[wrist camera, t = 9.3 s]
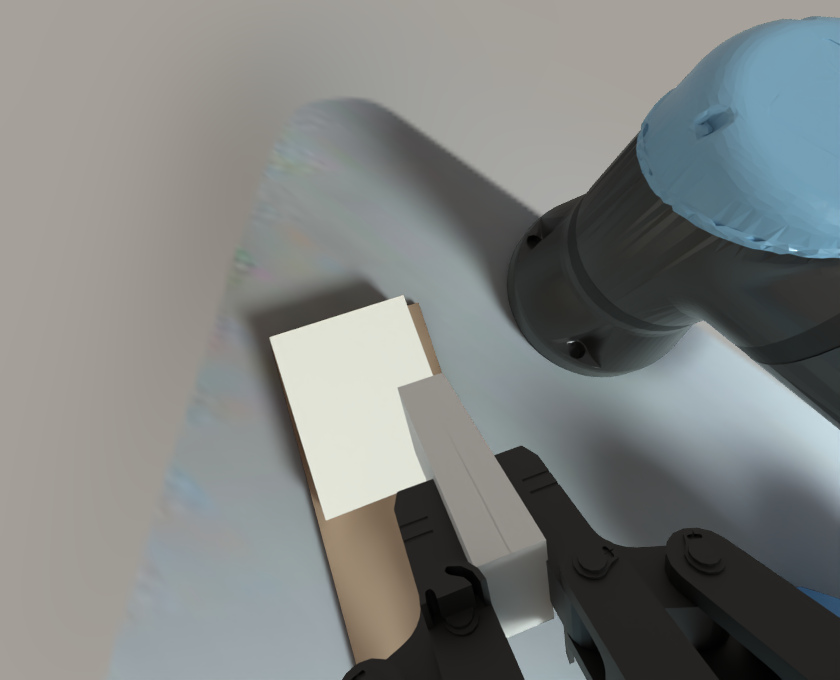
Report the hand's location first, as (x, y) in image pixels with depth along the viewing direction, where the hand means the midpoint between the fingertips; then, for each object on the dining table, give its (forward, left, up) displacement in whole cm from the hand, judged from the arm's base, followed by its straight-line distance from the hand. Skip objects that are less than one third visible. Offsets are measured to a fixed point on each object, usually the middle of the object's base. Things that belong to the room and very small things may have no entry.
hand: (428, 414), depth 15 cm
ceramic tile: (+1, +4, -20) cm, 20 cm away
